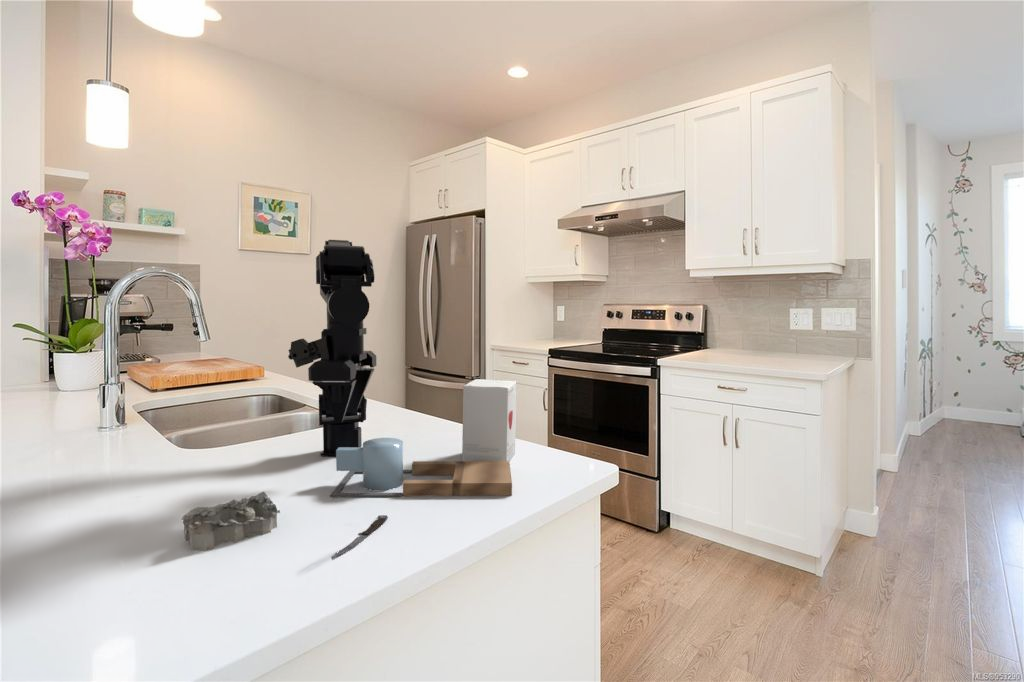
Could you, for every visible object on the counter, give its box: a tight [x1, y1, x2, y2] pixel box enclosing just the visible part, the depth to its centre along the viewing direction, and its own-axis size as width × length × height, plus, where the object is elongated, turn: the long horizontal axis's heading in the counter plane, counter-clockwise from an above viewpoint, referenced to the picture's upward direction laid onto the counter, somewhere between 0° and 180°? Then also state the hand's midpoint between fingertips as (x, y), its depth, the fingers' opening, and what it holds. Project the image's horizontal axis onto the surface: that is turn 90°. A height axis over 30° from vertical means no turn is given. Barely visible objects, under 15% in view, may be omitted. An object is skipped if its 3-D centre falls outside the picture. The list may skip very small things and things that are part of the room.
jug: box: [335, 437, 404, 491], centre depth 86 cm, size 11×6×7 cm, turn 93°
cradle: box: [402, 460, 513, 497], centre depth 87 cm, size 17×11×2 cm, turn 93°
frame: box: [329, 469, 412, 498], centre depth 87 cm, size 11×12×1 cm
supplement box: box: [461, 378, 517, 462], centre depth 101 cm, size 9×9×15 cm
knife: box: [330, 514, 388, 561], centre depth 66 cm, size 17×1×3 cm
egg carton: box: [181, 491, 281, 552], centre depth 68 cm, size 11×8×4 cm
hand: (346, 415), depth 86 cm, fingers open, 9 cm apart
